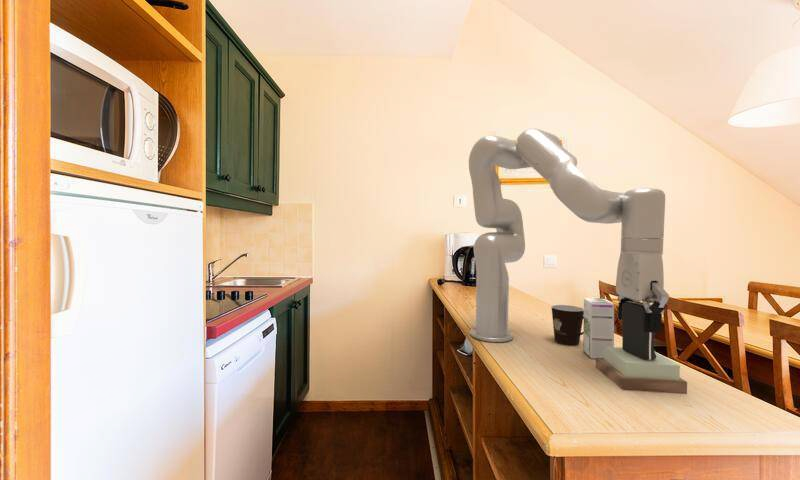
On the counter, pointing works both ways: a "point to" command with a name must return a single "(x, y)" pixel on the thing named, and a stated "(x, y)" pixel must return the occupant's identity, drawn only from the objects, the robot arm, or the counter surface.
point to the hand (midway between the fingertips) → (638, 325)
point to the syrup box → (598, 326)
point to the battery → (636, 331)
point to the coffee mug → (567, 324)
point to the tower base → (640, 381)
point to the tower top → (641, 365)
